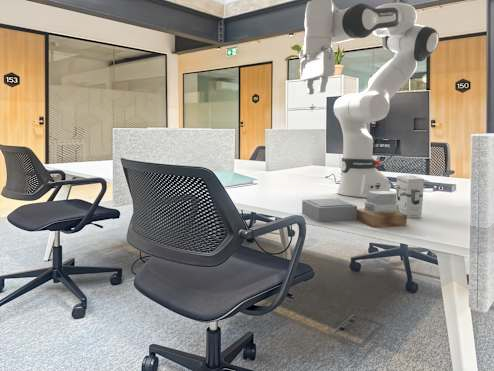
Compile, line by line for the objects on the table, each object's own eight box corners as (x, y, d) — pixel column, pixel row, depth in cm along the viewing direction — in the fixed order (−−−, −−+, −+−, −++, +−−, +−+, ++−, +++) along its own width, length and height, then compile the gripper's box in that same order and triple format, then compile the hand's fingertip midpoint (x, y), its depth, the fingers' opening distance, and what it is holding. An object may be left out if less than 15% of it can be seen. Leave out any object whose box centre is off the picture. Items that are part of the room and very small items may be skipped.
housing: (386, 209, 119) (387, 190, 118) (396, 213, 114) (397, 193, 113) (364, 210, 117) (365, 191, 116) (374, 214, 112) (375, 194, 112)
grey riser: (337, 211, 130) (338, 197, 129) (356, 219, 119) (357, 205, 118) (301, 212, 127) (302, 199, 126) (318, 221, 116) (318, 206, 115)
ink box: (393, 211, 130) (396, 174, 128) (408, 211, 131) (411, 174, 129) (405, 218, 122) (408, 178, 120) (422, 217, 122) (425, 178, 120)
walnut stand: (385, 217, 122) (385, 207, 122) (406, 225, 112) (407, 214, 112) (354, 218, 119) (355, 208, 119) (373, 227, 110) (374, 216, 109)
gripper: (341, 44, 123) (339, 91, 125) (314, 55, 143) (313, 95, 145) (321, 42, 122) (319, 90, 124) (297, 54, 141) (296, 95, 143)
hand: (316, 93), depth 135 cm, fingers open, 8 cm apart
